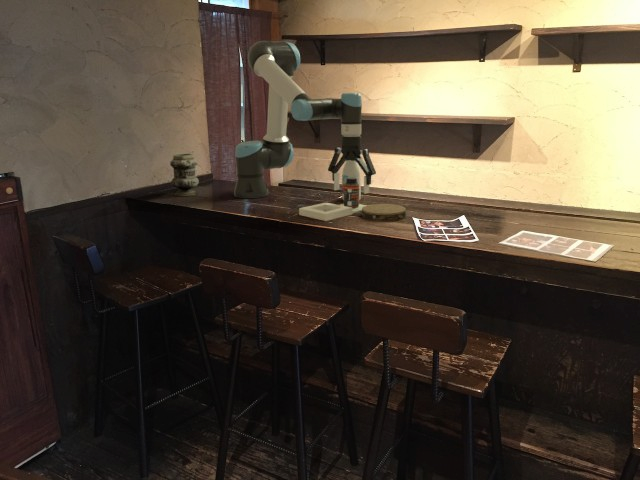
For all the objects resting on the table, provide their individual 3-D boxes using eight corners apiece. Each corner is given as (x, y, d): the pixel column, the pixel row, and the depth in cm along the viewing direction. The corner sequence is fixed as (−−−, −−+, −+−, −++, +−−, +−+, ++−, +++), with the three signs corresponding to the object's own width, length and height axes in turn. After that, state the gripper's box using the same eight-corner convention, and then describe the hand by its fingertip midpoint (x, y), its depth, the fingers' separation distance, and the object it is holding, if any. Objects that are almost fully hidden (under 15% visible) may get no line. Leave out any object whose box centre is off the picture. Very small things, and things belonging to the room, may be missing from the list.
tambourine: (371, 210, 204) (371, 202, 203) (411, 213, 197) (411, 205, 196) (355, 219, 190) (355, 211, 190) (397, 223, 184) (397, 215, 183)
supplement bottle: (352, 209, 202) (352, 179, 199) (340, 207, 206) (340, 178, 203) (362, 206, 206) (362, 177, 203) (350, 204, 210) (350, 176, 207)
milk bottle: (360, 198, 225) (361, 150, 219) (360, 201, 218) (360, 153, 212) (342, 197, 226) (342, 150, 220) (341, 201, 218) (341, 153, 213)
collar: (299, 214, 197) (299, 208, 196) (326, 208, 206) (325, 202, 206) (325, 221, 187) (325, 214, 187) (352, 214, 197) (352, 207, 196)
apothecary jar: (196, 196, 234) (192, 155, 229) (169, 196, 234) (165, 156, 229) (202, 191, 246) (199, 152, 241) (176, 191, 246) (173, 152, 241)
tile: (329, 208, 206) (329, 207, 206) (350, 203, 214) (350, 202, 214) (352, 213, 198) (352, 211, 198) (373, 208, 206) (373, 206, 206)
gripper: (318, 135, 203) (319, 189, 208) (375, 137, 188) (374, 196, 194) (329, 133, 208) (330, 186, 214) (385, 136, 194) (384, 192, 200)
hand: (351, 191), depth 204 cm, fingers open, 13 cm apart
